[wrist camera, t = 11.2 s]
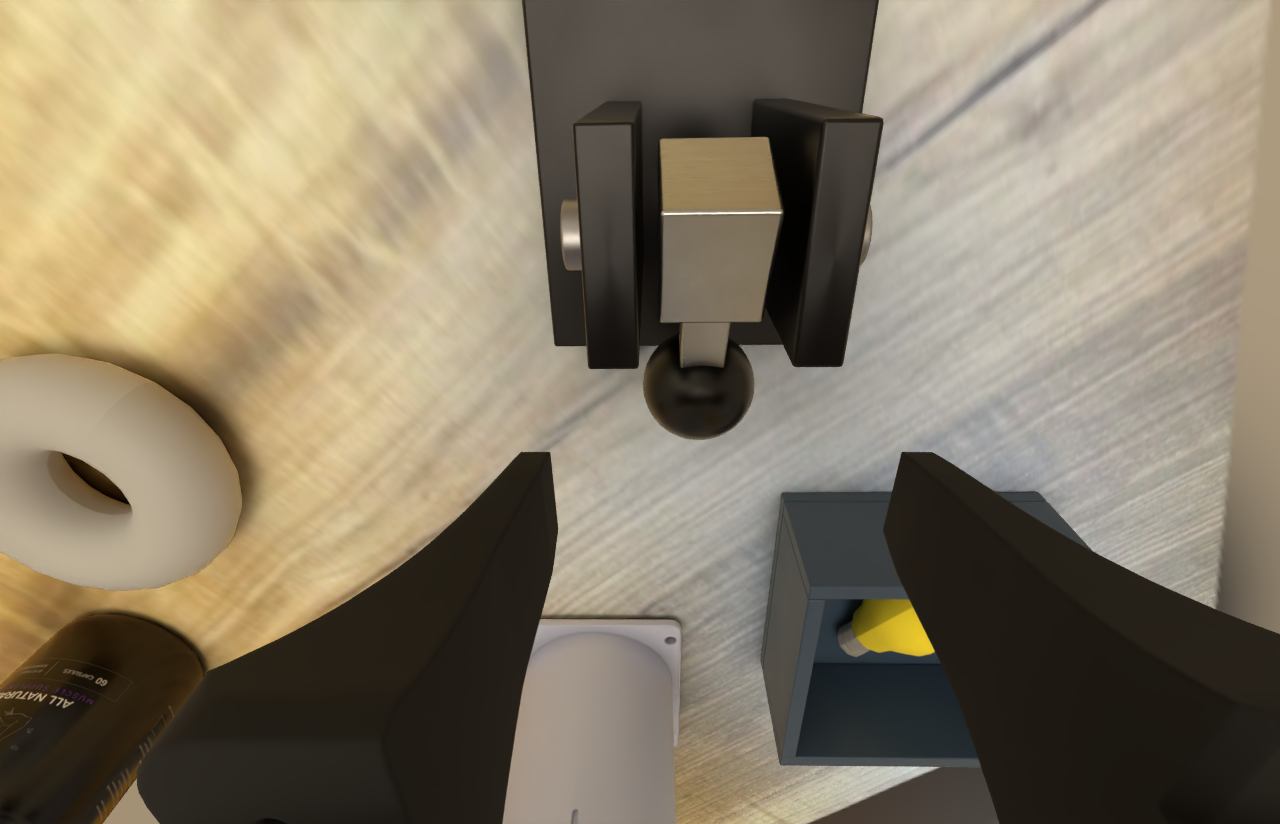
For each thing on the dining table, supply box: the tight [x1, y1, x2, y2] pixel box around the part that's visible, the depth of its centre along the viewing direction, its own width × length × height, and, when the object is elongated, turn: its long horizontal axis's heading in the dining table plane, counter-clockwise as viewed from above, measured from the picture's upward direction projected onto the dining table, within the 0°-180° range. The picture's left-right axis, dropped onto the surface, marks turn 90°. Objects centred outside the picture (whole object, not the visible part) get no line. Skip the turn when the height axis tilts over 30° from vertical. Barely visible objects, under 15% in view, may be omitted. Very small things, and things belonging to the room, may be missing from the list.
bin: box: [761, 492, 1092, 767], centre depth 24 cm, size 10×10×5 cm
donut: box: [0, 353, 242, 591], centre depth 22 cm, size 10×3×10 cm
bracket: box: [522, 0, 884, 369], centre depth 14 cm, size 10×9×9 cm
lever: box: [643, 137, 785, 440], centre depth 14 cm, size 8×3×3 cm, turn 1°
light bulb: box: [837, 599, 935, 657], centre depth 25 cm, size 3×6×4 cm, turn 154°
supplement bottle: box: [0, 614, 203, 824], centre depth 25 cm, size 7×7×12 cm
